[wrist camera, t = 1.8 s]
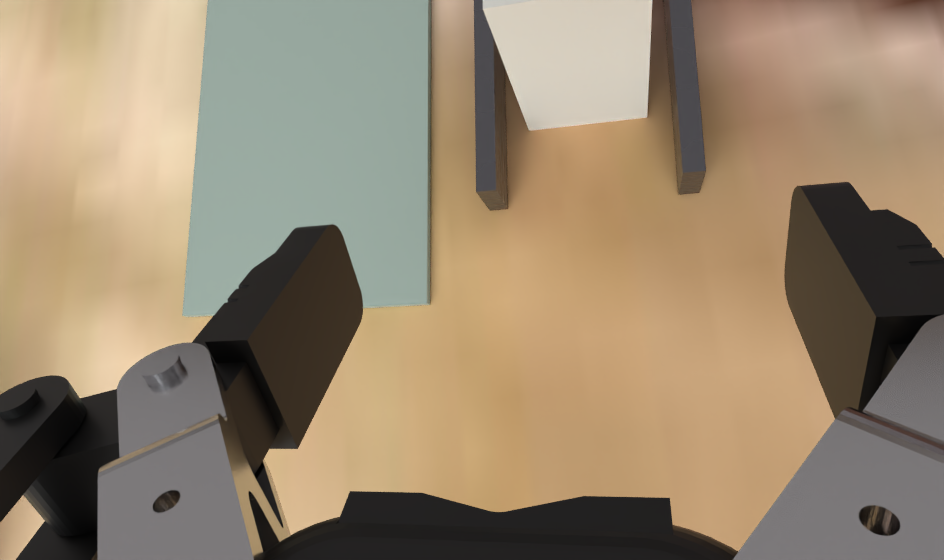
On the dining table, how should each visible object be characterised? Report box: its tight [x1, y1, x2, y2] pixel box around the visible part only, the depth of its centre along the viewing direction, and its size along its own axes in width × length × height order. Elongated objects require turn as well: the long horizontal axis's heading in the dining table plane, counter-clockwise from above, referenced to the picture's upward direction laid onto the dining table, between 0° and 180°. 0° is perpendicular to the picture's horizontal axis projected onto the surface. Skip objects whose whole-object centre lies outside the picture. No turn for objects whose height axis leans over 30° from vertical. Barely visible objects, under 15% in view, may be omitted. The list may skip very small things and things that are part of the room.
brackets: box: [474, 0, 706, 210], centre depth 27 cm, size 9×12×2 cm
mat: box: [182, 0, 431, 317], centre depth 31 cm, size 12×20×1 cm, turn 1°
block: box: [483, 0, 652, 131], centre depth 24 cm, size 5×5×9 cm
